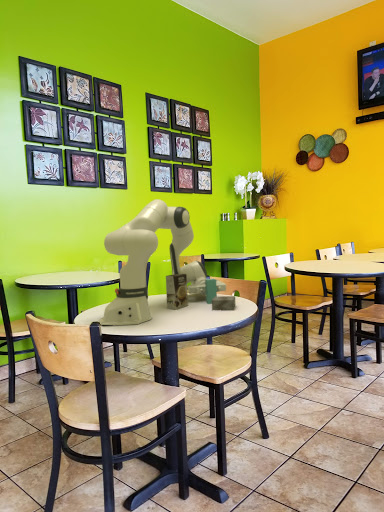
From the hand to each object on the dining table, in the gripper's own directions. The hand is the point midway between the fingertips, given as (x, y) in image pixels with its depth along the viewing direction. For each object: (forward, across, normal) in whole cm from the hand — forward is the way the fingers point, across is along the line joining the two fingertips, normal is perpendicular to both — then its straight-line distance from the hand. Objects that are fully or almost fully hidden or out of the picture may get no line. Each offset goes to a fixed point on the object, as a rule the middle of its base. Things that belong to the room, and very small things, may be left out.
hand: (210, 290), depth 201 cm
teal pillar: (0, 0, +6) cm, 6 cm away
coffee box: (+4, -18, +7) cm, 19 cm away
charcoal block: (+15, +2, +7) cm, 17 cm away
